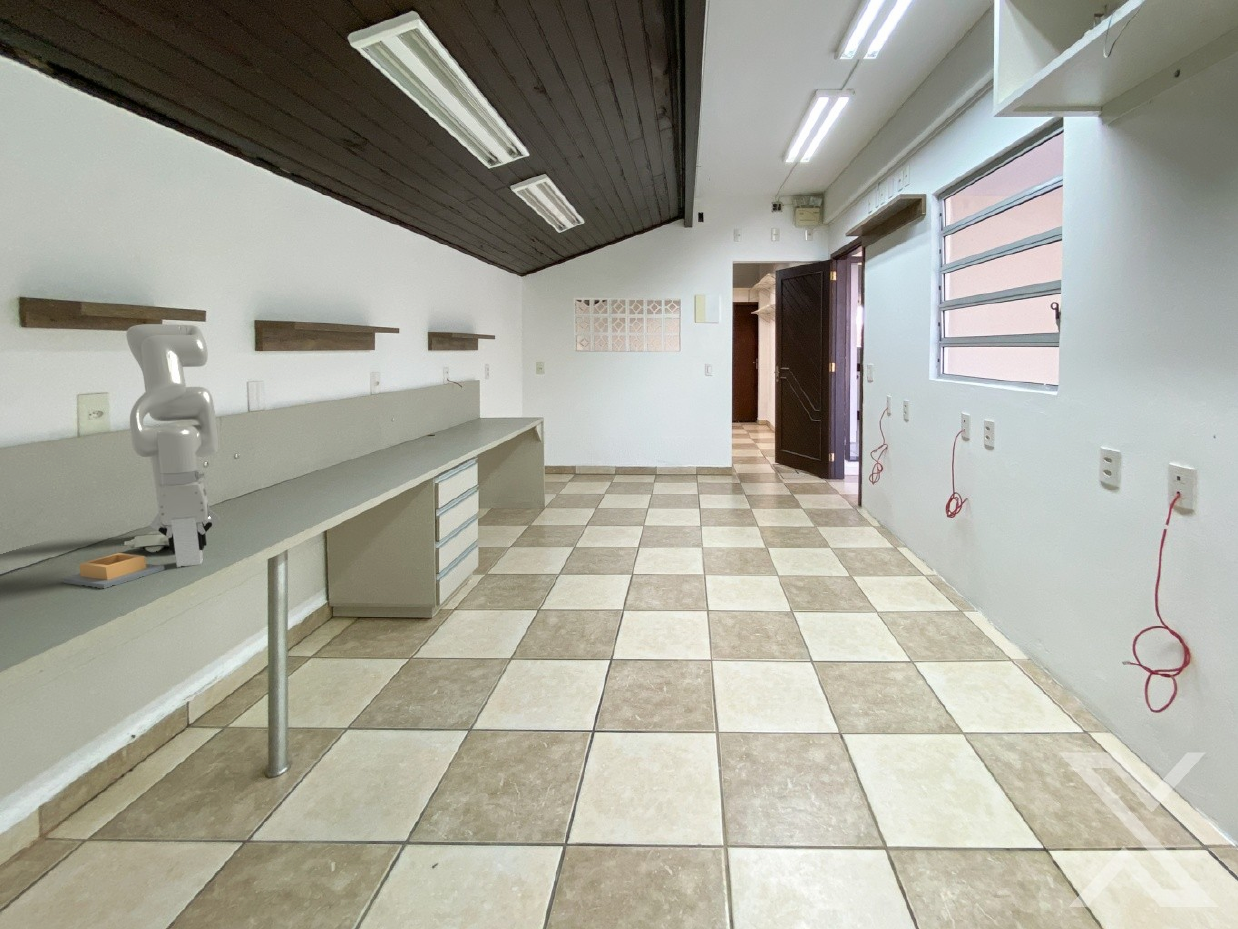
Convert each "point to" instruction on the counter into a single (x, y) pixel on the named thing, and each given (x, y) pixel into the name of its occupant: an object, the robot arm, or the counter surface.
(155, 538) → the butterfly valve
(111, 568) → the collar plate
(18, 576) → the counter surface
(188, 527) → the block
